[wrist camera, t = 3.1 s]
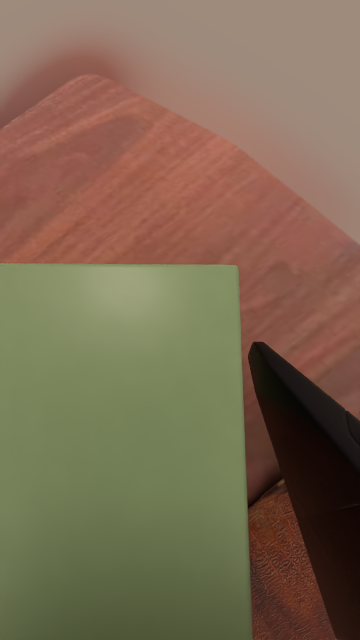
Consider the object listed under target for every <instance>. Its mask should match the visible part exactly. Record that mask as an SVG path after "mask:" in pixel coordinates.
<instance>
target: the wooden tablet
mask: <svg viewBox="0 0 360 640" xmlns="http://www.w3.org/2000/svg"><path fill="white" fill-rule="evenodd" d="M248 532H249V559H250V585H251V611H252V638H253V640H337V639H336V638H335V635H334V632H333V630H332V627H331V624H330V621H329V618H328V615H327V612H326V608H325V605H324V602H323V599H322V596H321V593H320V590H319V587H318V584H317V581H316V578H315V575H314V572H313V569H312V565H311V562H310V559H309V556H308V553H307V550H306V547H305V544H304V541H303V538H302V535H301V532H300V529H299V526H298V523H297V519H296V516H295V513H294V510H293V507H292V504H291V501H290V498H289V494H288V491H287V488H286V485H285V482H284V479H283V478H282V479H281V480H280V482H278V483H276V484H275V485H274V486H273V487H272V488H270V489H268V491H267V492H265V493H264V494H263V495H262V497H261V498H260V499H259V500H258V501H257V502H256V503H255V504H253V505H252V506H250V507H249V508H248Z"/></svg>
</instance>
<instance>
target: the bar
mask: <svg viewBox="0 0 360 640" xmlns="http://www.w3.org/2000/svg"><path fill="white" fill-rule="evenodd" d="M0 640H253V638H252V611H251V585H250V559H249V532H248V506H247V479H246V453H245V427H244V400H243V374H242V348H241V321H240V295H239V270H238V267H237V266H236V265H176V264H18V263H0Z"/></svg>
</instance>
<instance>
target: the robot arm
mask: <svg viewBox="0 0 360 640" xmlns="http://www.w3.org/2000/svg"><path fill="white" fill-rule="evenodd" d="M248 360H249V365H250V370H251V375H252V380H253V385H254V389H255V393H256V396H257V399H258V402H259V405H260V409H261V412H262V415H263V418H264V421H265V424H266V427H267V430H268V433H269V436H270V439H271V442H272V445H273V448H274V451H275V455H276V458H277V461H278V464H279V467H280V470H281V473H282V476H283V479H284V482H285V485H286V488H287V491H288V494H289V498H290V501H291V504H292V507H293V510H294V513H295V516H296V519H297V523H298V526H299V529H300V532H301V535H302V538H303V541H304V544H305V547H306V550H307V553H308V556H309V559H310V562H311V565H312V569H313V572H314V575H315V578H316V581H317V584H318V587H319V590H320V593H321V596H322V599H323V602H324V605H325V608H326V612H327V615H328V618H329V621H330V624H331V627H332V630H333V632H334V635H335V638H336V639H337V640H360V421H359V420H358V419H357V418H356V417H354V416H353V415H352V414H351V413H349V412H348V411H345V409H344V408H343V407H342V406H341V405H340V404H338V403H337V402H336V401H335V400H333V399H332V398H331V397H330V396H329V395H327V394H326V393H325V392H324V391H322V390H321V389H320V388H319V387H318V386H316V385H315V384H314V383H313V382H311V381H310V380H309V379H308V378H307V377H305V376H304V375H303V374H302V373H301V372H299V371H298V370H297V369H296V368H294V367H293V366H292V365H291V364H290V363H288V362H287V361H286V360H285V359H283V358H282V357H281V356H280V355H279V354H277V353H276V352H275V351H274V350H272V349H271V348H270V347H269V346H268V345H266V344H265V343H264V342H253V343H252V345H251V348H250V351H249V354H248Z"/></svg>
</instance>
